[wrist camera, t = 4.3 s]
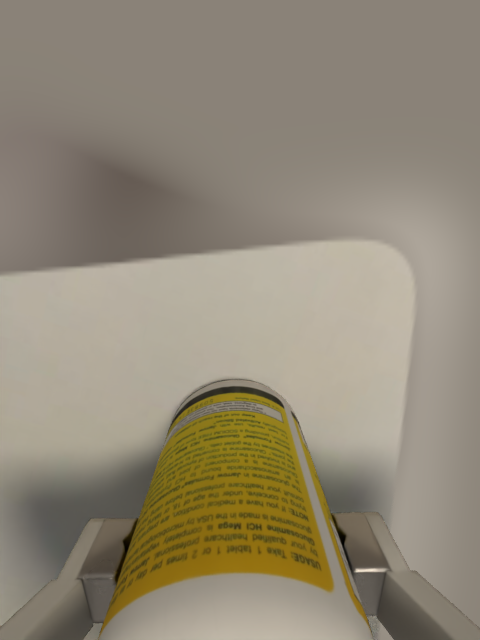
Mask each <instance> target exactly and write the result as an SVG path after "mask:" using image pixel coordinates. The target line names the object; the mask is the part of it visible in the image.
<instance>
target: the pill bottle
mask: <svg viewBox="0 0 480 640" xmlns="http://www.w3.org/2000/svg"><path fill="white" fill-rule="evenodd" d="M98 640H374V639H373V636H372V632H371V629H370V626H369V623H368V619H367V617H366V614H365V611H364V609H363V606H362V603H361V600H360V597H359V594H358V591H357V588H356V585H355V582H354V579H353V576H352V574H351V571H350V568H349V565H348V562H347V559H346V556H345V553H344V550H343V547H342V544H341V542H340V539H339V536H338V533H337V530H336V527H335V524H334V522H333V519H332V516H331V513H330V510H329V507H328V504H327V502H326V499H325V496H324V493H323V490H322V487H321V484H320V481H319V478H318V475H317V473H316V470H315V467H314V464H313V461H312V458H311V456H310V452H309V450H308V447H307V444H306V441H305V439H304V436H303V433H302V430H301V427H300V425H299V422H298V420H297V417H296V415H295V413H294V412H293V410H292V408H291V407H290V405H289V404H288V403H287V402H286V400H285V399H284V398H282V397H281V396H280V395H279V394H278V393H276V392H275V391H274V390H272V389H270V388H268V387H266V386H264V385H262V384H259V383H256V382H253V381H247V380H227V381H221V382H216V383H213V384H210V385H208V386H206V387H204V388H202V389H200V390H198V391H196V392H195V393H193V394H192V395H191V396H190V397H188V398H187V399H186V400H185V401H184V403H183V404H182V405H181V406H180V408H179V409H178V411H177V413H176V414H175V416H174V419H173V421H172V423H171V426H170V428H169V431H168V434H167V437H166V440H165V443H164V445H163V448H162V451H161V454H160V457H159V460H158V463H157V466H156V469H155V472H154V475H153V478H152V481H151V484H150V487H149V490H148V493H147V496H146V499H145V501H144V504H143V507H142V510H141V513H140V516H139V519H138V522H137V525H136V528H135V531H134V534H133V537H132V540H131V543H130V546H129V549H128V552H127V555H126V558H125V561H124V564H123V567H122V570H121V573H120V576H119V579H118V582H117V585H116V587H115V590H114V593H113V596H112V599H111V602H110V605H109V608H108V610H107V613H106V616H105V619H104V622H103V625H102V628H101V631H100V634H99V637H98Z"/></svg>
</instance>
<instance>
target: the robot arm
mask: <svg viewBox="0 0 480 640" xmlns="http://www.w3.org/2000/svg"><path fill="white" fill-rule="evenodd" d="M331 516H332V519H333V522H334V524H335V527H336V530H337V533H338V536H339V539H340V542H341V544H342V547H343V550H344V553H345V556H346V559H347V562H348V565H349V568H350V571H351V574H352V576H353V579H354V582H355V585H356V588H357V591H358V594H359V597H360V600H361V603H362V606H363V609H364V611H365V614H366V615H377V618H378V619H379V621H380V622H381V623H382V625H383V626H384V627H385V628H386V630H387V631H388V632H389V634H390V635H391V636H392V638H393V639H394V640H480V628H479V627H478V626H477V625H475V624H474V623H473V622H472V621H471V620H470V619H468V617H467V616H465V615H464V614H463V613H462V612H461V611H460V610H459V609H458V608H457V607H455V606H454V605H453V604H452V603H451V602H450V601H449V600H448V599H446V598H445V597H444V596H443V595H442V594H441V593H440V592H439V591H438V590H436V589H435V588H434V587H433V586H432V585H431V584H430V583H429V582H427V581H426V580H425V579H424V578H423V577H422V576H421V575H420V574H418V572H416V571H410V569H409V567H408V565H407V563H406V561H405V559H404V558H403V556H402V554H401V552H400V550H399V548H398V546H397V545H396V543H395V541H394V539H393V537H392V535H391V533H390V531H389V530H388V528H387V526H386V524H385V522H384V520H383V518H382V516H381V515H380V514H379V513H378V512H363V513H361V512H349V513H331ZM138 519H139V518H98V519H90V521H89V522H88V523H87V524H86V525H85V527H84V529H83V531H82V533H81V535H80V537H79V539H78V540H77V542H76V544H75V546H74V548H73V550H72V552H71V554H70V555H69V557H68V559H67V561H66V563H65V565H64V567H63V569H62V570H61V572H60V574H59V576H58V578H57V580H51V581H50V582H49V583H48V584H47V585H46V586H44V587H43V588H42V589H41V590H40V591H39V592H38V593H37V594H36V595H35V596H34V597H33V598H31V599H30V600H29V601H28V602H27V603H26V604H25V605H24V606H23V607H22V608H21V609H20V610H19V611H17V612H16V613H15V614H14V615H13V616H12V617H11V618H10V619H9V620H8V621H7V622H6V623H4V624H3V625H2V626H1V627H0V640H83V639H84V637H85V636H86V635H87V633H88V632H89V631H90V629H91V628H92V627H93V623H103V622H104V619H105V616H106V613H107V610H108V608H109V605H110V602H111V599H112V596H113V593H114V590H115V587H116V585H117V582H118V579H119V576H120V573H121V570H122V567H123V564H124V561H125V558H126V555H127V552H128V549H129V546H130V543H131V540H132V537H133V534H134V531H135V528H136V525H137V522H138Z"/></svg>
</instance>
